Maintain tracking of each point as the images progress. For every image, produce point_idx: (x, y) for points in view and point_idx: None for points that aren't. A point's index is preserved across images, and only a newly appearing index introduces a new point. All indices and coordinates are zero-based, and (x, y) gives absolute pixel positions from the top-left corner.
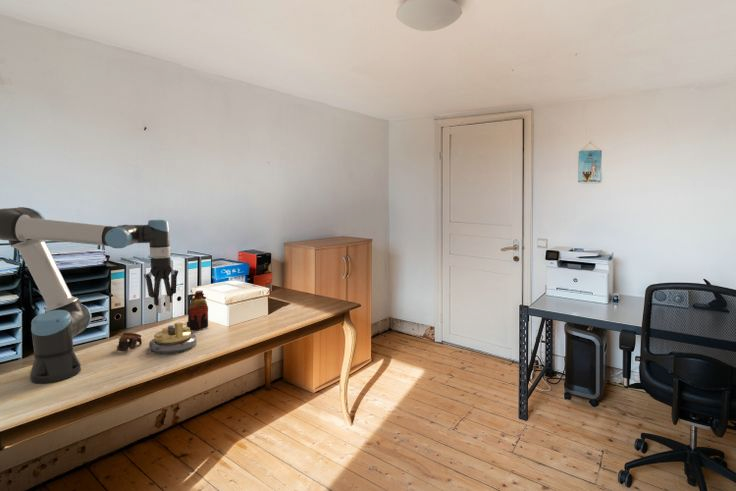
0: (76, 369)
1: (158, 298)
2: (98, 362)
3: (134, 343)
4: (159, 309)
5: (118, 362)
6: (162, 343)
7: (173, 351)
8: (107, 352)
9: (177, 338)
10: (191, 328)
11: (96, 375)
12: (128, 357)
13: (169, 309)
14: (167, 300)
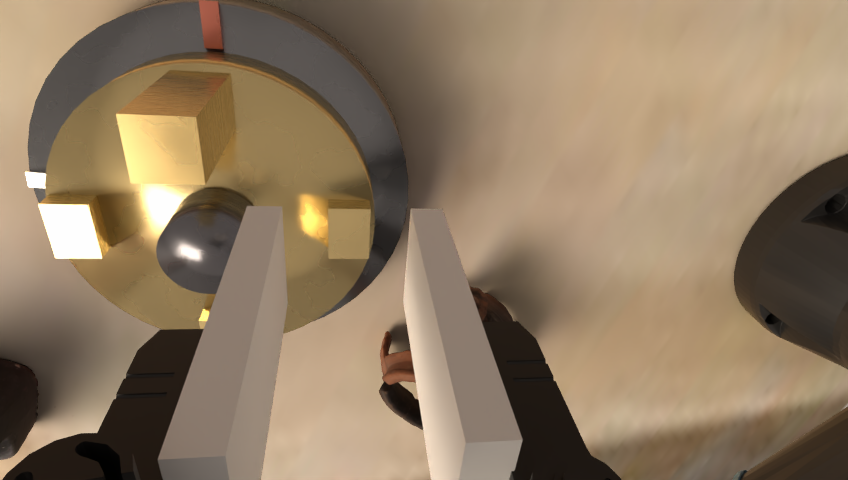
0: (828, 184)
1: (513, 446)
2: (653, 252)
3: (474, 291)
4: (454, 248)
5: (607, 171)
6: (353, 137)
7: (305, 24)
8: (546, 349)
9: (237, 68)
10: (10, 374)
11: (788, 71)
12: (531, 204)
13: (257, 224)
14: (251, 376)
